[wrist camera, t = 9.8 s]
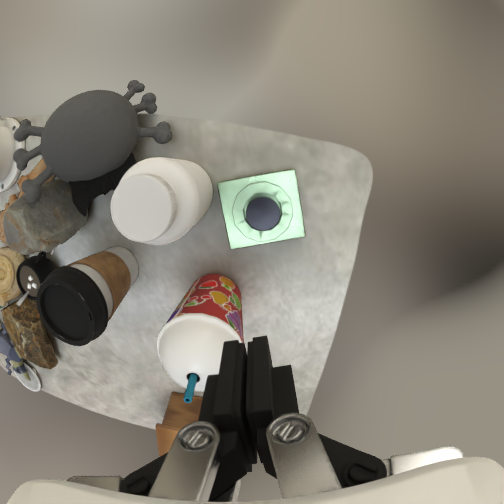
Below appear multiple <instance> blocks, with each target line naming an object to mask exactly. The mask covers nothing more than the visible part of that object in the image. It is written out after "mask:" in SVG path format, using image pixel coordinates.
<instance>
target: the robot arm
mask: <svg viewBox="0 0 504 504" xmlns="http://www.w3.org/2000/svg"><path fill="white" fill-rule="evenodd" d="M19 126H20V124H19V123H18V121H17V120H15V119H14V118H10V117H3V118H0V192H4V191H6V190H8V189H9V188H11V187H12V186H13V184H14V183H15V182H16V180H17V178H18V176H19V174H20V170H18V168H17V165H16V162H15V161H14V160H13V154H14V152H15V151H16V150H17V149H20V148H24V149H25V140H24V141H22V142H18V141H16V140H15V139H14V132H15V131H16V129H18V128H19ZM257 452H258V455H259V458H260V461H261V463H263V465H264V468H265V471H266V472H267V473H268V474H270V475H271V476H273V477H275V478H276V479H278V483H279V487H280V490H281V494H282V498H283V499H274V500H262V501H246V502H237V498H238V493H239V489H240V485H241V481H240V479H241V478H242V477H243V476H245V475H246V474H247V472H252V464H256V463H257ZM7 504H504V468H503V467H502V466H500V465H499V464H498V463H497V462H495V461H493V460H491V459H488V458H483V457H465V458H464V455H463V453H462V451H460V450H459V449H457V448H455V447H452V446H447V447H441V448H436V449H431V450H426V451H420V452H415V453H408V454H403V455H395V456H391V457H390V459H384V460H380V459H379V458H377V457H375V456H372V455H370V454H367V453H364V452H362V451H359V450H356V449H354V448H352V447H349V446H347V445H344V444H342V443H339V442H337V441H335V440H332V439H330V438H328V437H325V436H323V435H321V434H319V433H317V430H316V428H315V426H314V424H313V422H312V421H311V419H310V418H308V417H307V416H305V415H303V414H299V410H298V404H297V398H296V392H295V386H294V380H293V374H292V368H291V365H287V366H280V367H274V368H273V366H272V360H271V355H270V349H269V344H268V338H267V336H261V337H254V338H253V341H252V342H248V354H247V352H246V348H245V344H244V343H239V340H232V341H224V344H223V350H222V356H221V362H220V368H219V374H215V375H208V377H207V380H206V385H205V390H204V394H203V399H202V404H201V409H200V414H199V419H198V422H193V423H190V424H188V425H186V426H184V427H183V428H181V429H180V430H179V432H178V433H177V435H176V437H175V439H174V441H173V443H172V445H171V448H170V450H169V452H167V453H165V454H164V455H162V456H161V457H159V458H157V459H155V460H154V461H152V462H150V463H149V464H147V465H145V466H143V467H142V468H140V469H138V470H136V471H134V472H133V473H131V474H129V475H128V476H127V477H126V478H122V477H120V476H73V477H71V478H69V479H68V480H67V481H63V480H53V479H52V480H51V479H45V480H33V481H28V482H26V483H24V484H22V485H21V486H20V487H19V488H18V489H17V490H16V491H15V492H14V494H13V495H12V497H11V498H10V500H9V501H8V503H7Z"/></svg>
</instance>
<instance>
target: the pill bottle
mask: <svg viewBox="0 0 504 504" xmlns="http://www.w3.org/2000/svg"><path fill="white" fill-rule="evenodd" d="M212 198H213V187H212V182H211V180H210V177H209V176H208V174H207V173H206V171H205V170H204V169H203V168H202V167H200V166H199V165H197V164H196V163H194V162H191V161H187V160H180V159H172V158H164V157H153V158H148V159H144V160H142V161H140V162H138V163H136V164H135V165H133V166H132V167H131V168H130V169H129V170H128V171H127V172H126V173H125V174H124V176H123V177H122V179H121V181H120V183H119V185H118V186H117V188H116V189H115V191H114V193H113V195H112V198H111V204H110V206H111V207H110V210H111V216H112V220H113V223H114V225H115V226H116V228H117V229H118V231H119V232H120V233H121V234H122V235H123V236H125V237H126V238H128V239H130V240H132V241H134V242H135V241H136V242H139V243H141V242H142V243H145V244H150V245H166V244H169V243H172V242H175V241H177V240H178V239H180V238H181V237H183V236H184V235H185V234H186V233H187V232H188V231H189V230H190V229H191V228H192V227H193V226H194V225H195V224H196V223H197V222H198V221H199V220H200V219H201V218H202V217H203V216H204V215H205V213H206V212H207V211H208V209H209V207H210V205H211V202H212Z"/></svg>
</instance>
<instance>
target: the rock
mask: <svg viewBox="0 0 504 504" xmlns="http://www.w3.org/2000/svg"><path fill="white" fill-rule="evenodd" d="M19 300H20V299H19ZM19 300H17V301H16V302H14V303H12V304H10V305H8V306H6V307H5V308H3V309H2V310H1V312H2V314H3V322H4V325H5V327H6V330H7V333H8V334H9V335H10V338H11V341H12V343H13V345H14V347H15V348H16V350H17V351H18V352H19V354H20V356H21V357H22V358H23V359H26V360H28V361H30V362H32V363H34V364H36V365H37V366H39V367H43V368H47V369H52V368H53V367H55V366H56V365H57V363H58V360H57V358H56V357H55V354H54V349H53V347H52V344H51V342H50V340H49V338H48V336H47V333H46V329H45V327H44V323H43V321H42V320H41V317H40V315H39V313H38V309H37V302H36V301H33V300H30V299H28V298H27V297H26V298H25V299H24V301H23V302H22V303H21V305H20V306H18V305H17V304H16V303H17V302H18V301H19Z"/></svg>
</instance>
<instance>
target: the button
mask: <svg viewBox="0 0 504 504" xmlns="http://www.w3.org/2000/svg"><path fill="white" fill-rule="evenodd" d="M246 219H247V221H248V223H249V224H250V226H251V227H253V228H254V229H256V230H259V231H266V230H270V229H272V228H273V227H275V226H276V224H277V223H278V221H279V219H280V208H279V206H278V204H277V203H276V202H275V200H274V199H272V198H271V197H268V196H264V195H261V196H257V197H255V198H253V199H252V200H251V201H250V202H249V203H248V205H247V208H246Z"/></svg>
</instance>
